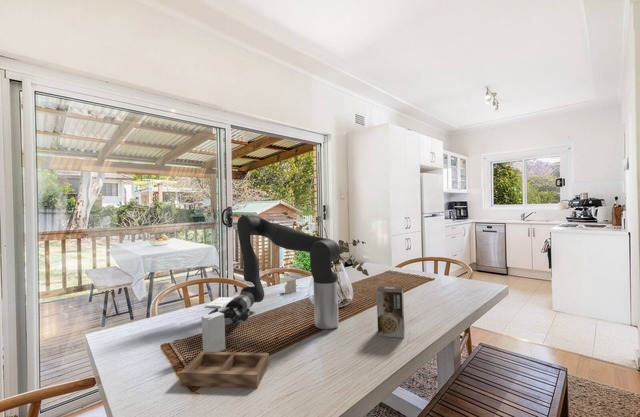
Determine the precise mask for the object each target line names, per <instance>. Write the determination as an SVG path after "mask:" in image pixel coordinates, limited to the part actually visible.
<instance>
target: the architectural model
mask: <svg viewBox="0 0 640 417" xmlns="http://www.w3.org/2000/svg"><path fill="white" fill-rule="evenodd" d="M297 287H298V284H297V279H291V278H290V279H289V280H286V284H285V285H284V286H283V288H284V291H285V292H284V293H285V294H286V295H289V294H293V293H297Z"/></svg>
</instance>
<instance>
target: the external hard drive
mask: <svg viewBox="0 0 640 417" xmlns="http://www.w3.org/2000/svg"><path fill="white" fill-rule="evenodd" d="M222 299H223V300H222ZM233 299H234V298H233V297H225V296H224V297H222V296H219V297H218V298H216V299H214V300H212V301H211V302H209V303H207V304H205V306H204V307H205V308H210V307H212V308H214V309H216V308H217V309H220V308H221V309H222V308H224V307H226V305H227V304H228V303H229V302H230V301H231V300H233Z"/></svg>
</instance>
